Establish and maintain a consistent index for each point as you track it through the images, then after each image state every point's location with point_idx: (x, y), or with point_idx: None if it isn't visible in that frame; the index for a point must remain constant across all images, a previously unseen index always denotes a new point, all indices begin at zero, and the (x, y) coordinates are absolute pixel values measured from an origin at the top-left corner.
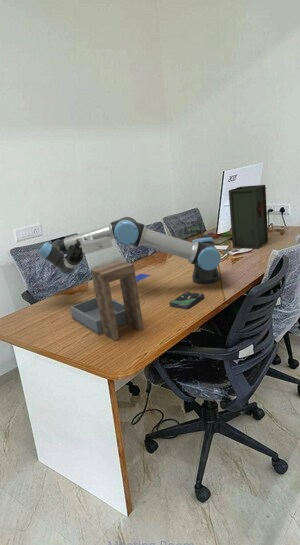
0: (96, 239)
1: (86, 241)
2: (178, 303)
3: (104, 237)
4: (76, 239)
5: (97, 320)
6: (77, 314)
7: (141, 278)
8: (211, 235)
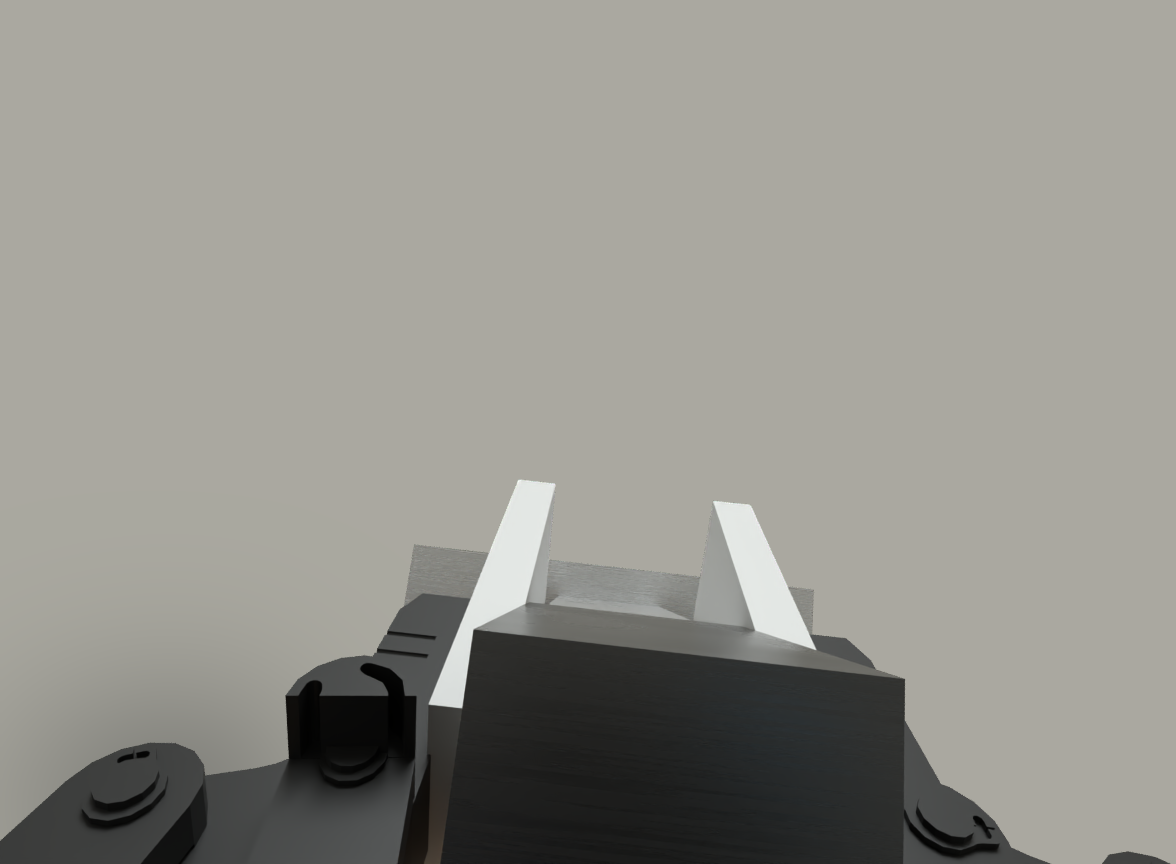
0: (580, 563)
1: (660, 616)
2: None
3: (460, 550)
4: (867, 670)
5: None
6: None
7: None
8: None
